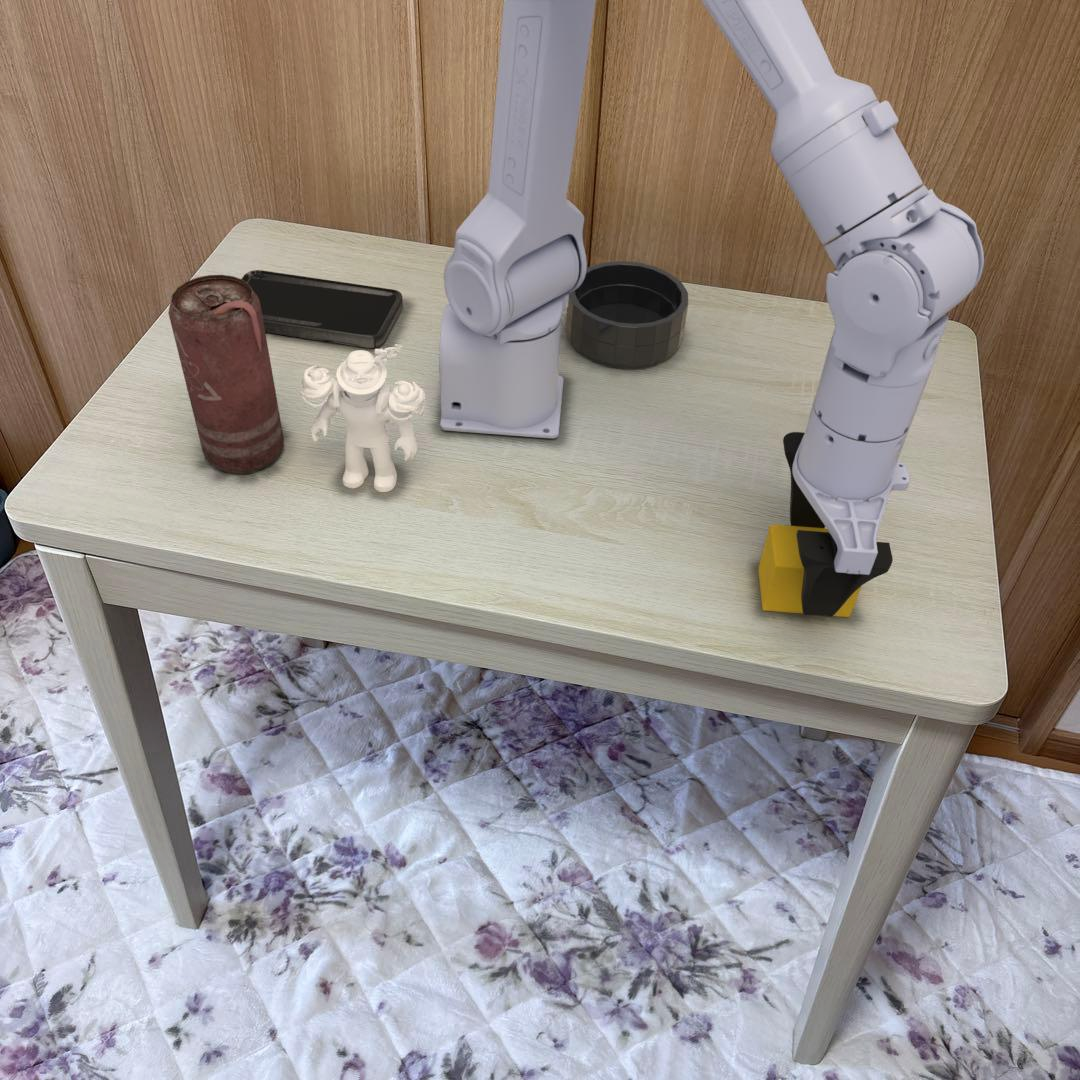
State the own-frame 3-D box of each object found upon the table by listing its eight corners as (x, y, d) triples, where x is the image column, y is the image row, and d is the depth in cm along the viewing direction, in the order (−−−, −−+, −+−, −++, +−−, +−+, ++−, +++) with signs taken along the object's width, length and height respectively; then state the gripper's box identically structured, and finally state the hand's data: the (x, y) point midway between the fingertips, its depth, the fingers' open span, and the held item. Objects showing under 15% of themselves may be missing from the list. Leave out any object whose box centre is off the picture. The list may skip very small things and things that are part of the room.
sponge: (762, 610, 72) (775, 566, 69) (757, 568, 75) (770, 523, 72) (849, 617, 72) (867, 573, 69) (842, 575, 75) (858, 530, 72)
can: (270, 483, 79) (240, 326, 69) (191, 469, 80) (149, 312, 70) (299, 433, 84) (274, 278, 74) (223, 420, 84) (189, 265, 74)
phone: (249, 268, 98) (405, 290, 96) (251, 279, 99) (406, 301, 97) (214, 315, 92) (379, 339, 91) (216, 325, 93) (380, 350, 91)
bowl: (562, 366, 91) (565, 322, 88) (568, 300, 98) (571, 257, 95) (682, 375, 91) (690, 331, 88) (680, 308, 98) (686, 265, 95)
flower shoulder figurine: (434, 471, 81) (428, 340, 73) (420, 505, 78) (412, 373, 70) (322, 452, 82) (303, 321, 74) (304, 485, 79) (282, 353, 71)
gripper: (955, 500, 57) (887, 657, 67) (908, 345, 67) (855, 500, 77) (824, 491, 57) (775, 648, 67) (797, 337, 67) (758, 493, 77)
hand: (811, 568), depth 72 cm, fingers open, 7 cm apart
